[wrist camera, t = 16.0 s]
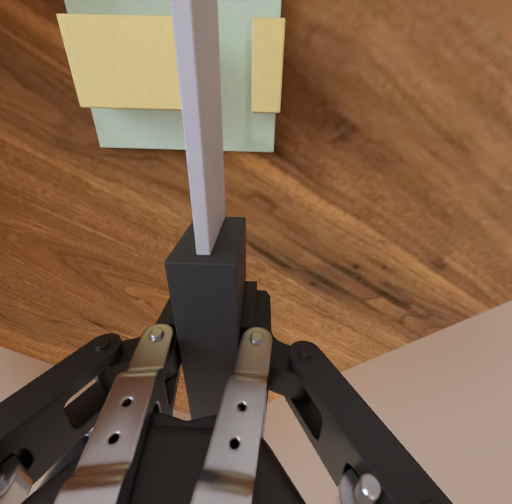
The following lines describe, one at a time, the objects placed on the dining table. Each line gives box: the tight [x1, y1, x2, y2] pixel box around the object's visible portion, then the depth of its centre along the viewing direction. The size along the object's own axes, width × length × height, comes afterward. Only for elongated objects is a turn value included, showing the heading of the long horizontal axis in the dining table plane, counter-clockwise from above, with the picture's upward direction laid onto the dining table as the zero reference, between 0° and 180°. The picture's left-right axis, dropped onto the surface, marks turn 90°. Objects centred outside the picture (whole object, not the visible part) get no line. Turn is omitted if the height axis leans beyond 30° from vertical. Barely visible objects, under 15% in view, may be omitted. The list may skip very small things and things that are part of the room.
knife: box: [164, 0, 246, 420], centre depth 10 cm, size 2×20×4 cm, turn 179°
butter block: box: [56, 14, 182, 111], centre depth 16 cm, size 4×7×4 cm, turn 89°
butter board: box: [64, 0, 282, 152], centre depth 18 cm, size 10×14×1 cm
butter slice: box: [251, 18, 285, 113], centre depth 16 cm, size 4×2×4 cm, turn 179°
